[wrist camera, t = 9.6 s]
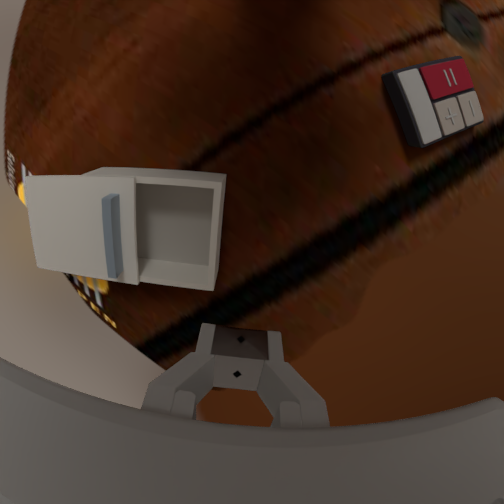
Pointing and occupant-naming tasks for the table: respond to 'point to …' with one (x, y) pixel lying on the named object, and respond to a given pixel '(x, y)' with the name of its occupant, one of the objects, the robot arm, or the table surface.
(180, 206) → the box
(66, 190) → the lid
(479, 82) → the table surface
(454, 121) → the calculator
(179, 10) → the table surface
